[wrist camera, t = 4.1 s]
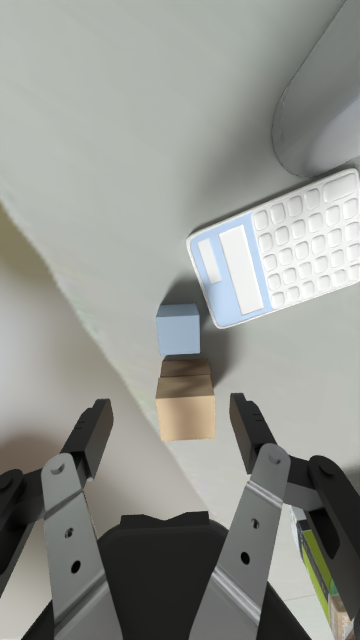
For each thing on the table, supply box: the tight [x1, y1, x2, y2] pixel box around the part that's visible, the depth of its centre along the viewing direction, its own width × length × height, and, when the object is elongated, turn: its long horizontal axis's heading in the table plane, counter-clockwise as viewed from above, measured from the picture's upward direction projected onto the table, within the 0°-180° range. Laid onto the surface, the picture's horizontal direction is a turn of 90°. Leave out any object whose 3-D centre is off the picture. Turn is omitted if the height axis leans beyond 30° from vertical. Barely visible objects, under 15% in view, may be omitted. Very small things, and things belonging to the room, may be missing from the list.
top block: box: [156, 375, 215, 441], centre depth 27 cm, size 7×7×4 cm
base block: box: [160, 359, 211, 379], centre depth 30 cm, size 7×7×4 cm
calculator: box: [186, 168, 360, 329], centre depth 25 cm, size 13×20×2 cm, turn 111°
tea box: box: [289, 505, 351, 640], centre depth 38 cm, size 15×10×15 cm
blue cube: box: [156, 303, 200, 355], centre depth 26 cm, size 5×5×5 cm
